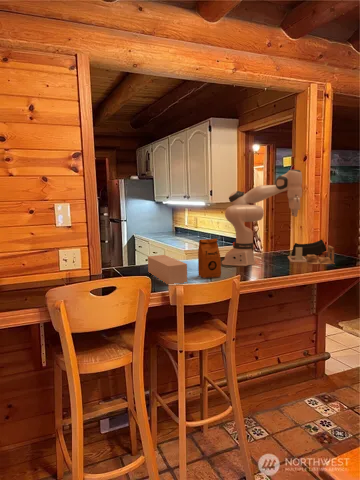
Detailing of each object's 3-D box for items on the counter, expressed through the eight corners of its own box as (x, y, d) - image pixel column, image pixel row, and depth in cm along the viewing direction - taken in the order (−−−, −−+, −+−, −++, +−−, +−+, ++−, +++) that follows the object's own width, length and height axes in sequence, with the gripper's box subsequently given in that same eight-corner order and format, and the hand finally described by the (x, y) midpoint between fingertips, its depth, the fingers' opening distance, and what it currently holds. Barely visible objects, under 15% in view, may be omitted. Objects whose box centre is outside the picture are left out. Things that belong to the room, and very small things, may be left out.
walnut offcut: (307, 262, 212) (307, 258, 211) (305, 261, 217) (305, 257, 216) (317, 262, 211) (317, 258, 210) (315, 261, 216) (315, 257, 215)
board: (295, 261, 220) (296, 247, 219) (295, 260, 222) (295, 247, 221) (302, 261, 220) (302, 247, 218) (301, 260, 221) (301, 247, 220)
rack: (308, 265, 209) (308, 248, 207) (304, 261, 220) (305, 245, 218) (335, 265, 206) (335, 248, 205) (330, 262, 217) (330, 245, 215)
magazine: (291, 245, 232) (323, 231, 241) (288, 245, 235) (319, 230, 244) (296, 267, 236) (327, 252, 245) (293, 266, 239) (324, 251, 248)
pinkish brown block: (148, 273, 200) (147, 256, 198) (164, 271, 204) (163, 254, 203) (169, 286, 171) (168, 266, 170) (187, 283, 175) (186, 263, 174)
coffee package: (222, 278, 184) (222, 239, 181) (201, 279, 181) (200, 240, 178) (217, 273, 193) (216, 237, 190) (197, 275, 191) (196, 238, 188)
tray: (290, 263, 215) (290, 260, 215) (287, 259, 229) (287, 256, 228) (306, 263, 213) (306, 260, 213) (302, 259, 227) (302, 256, 227)
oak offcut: (308, 258, 211) (308, 255, 211) (306, 257, 215) (306, 254, 215) (316, 258, 211) (316, 255, 211) (314, 257, 215) (314, 254, 215)
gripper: (303, 194, 201) (302, 217, 203) (296, 194, 221) (296, 215, 223) (292, 195, 202) (291, 217, 204) (287, 194, 222) (286, 215, 224)
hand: (294, 216), depth 213 cm, fingers open, 8 cm apart
